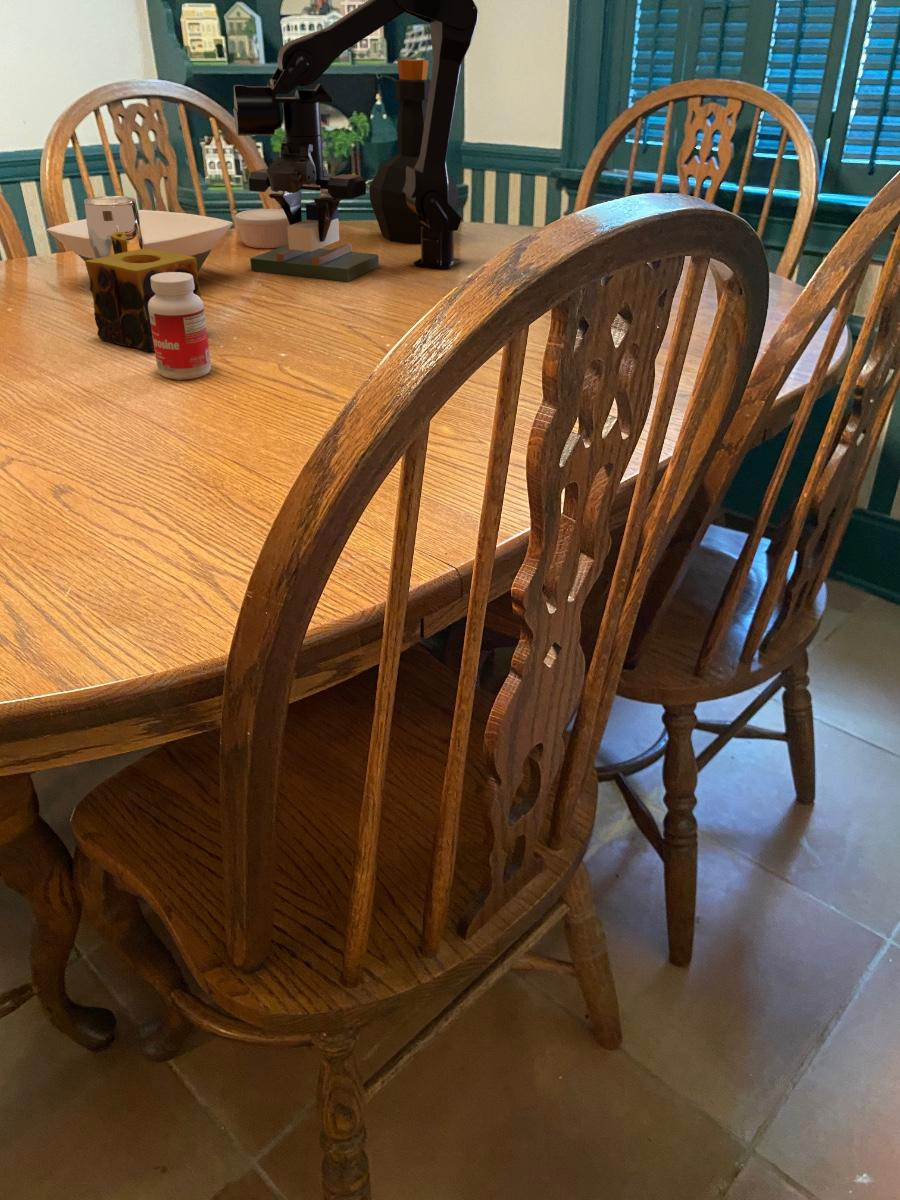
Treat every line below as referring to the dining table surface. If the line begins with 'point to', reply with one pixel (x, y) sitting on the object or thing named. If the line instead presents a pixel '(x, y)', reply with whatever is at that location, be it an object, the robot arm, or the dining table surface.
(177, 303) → the pill bottle
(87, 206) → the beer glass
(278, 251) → the green board with rails
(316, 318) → the dining table surface
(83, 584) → the dining table surface
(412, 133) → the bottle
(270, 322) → the dining table surface
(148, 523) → the dining table surface
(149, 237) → the bowl
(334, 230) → the cream and navy block
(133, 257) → the candle
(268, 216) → the ramekin
